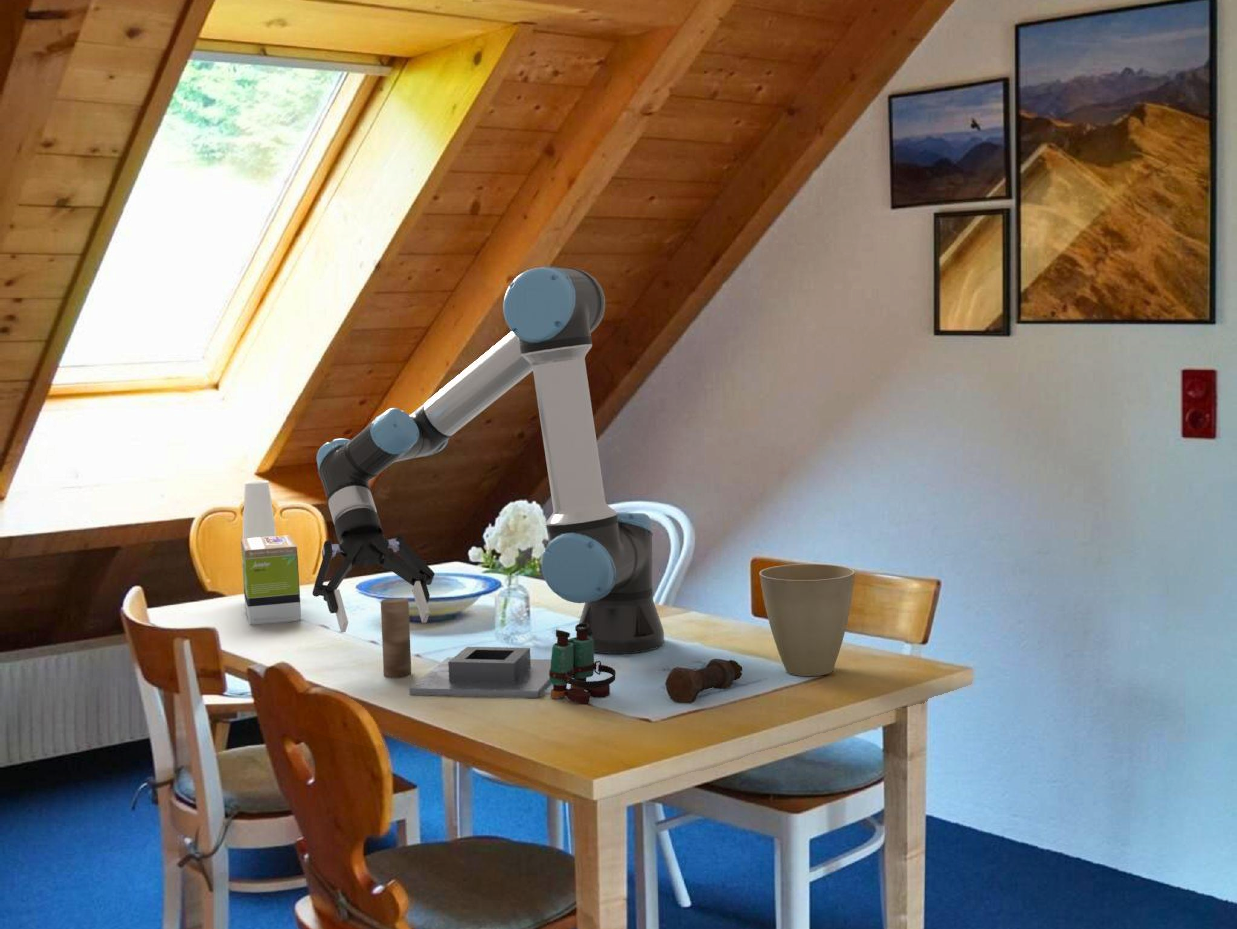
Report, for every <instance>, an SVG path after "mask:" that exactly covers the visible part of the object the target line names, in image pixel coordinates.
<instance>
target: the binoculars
mask: <svg viewBox="0 0 1237 929" xmlns="http://www.w3.org/2000/svg"><path fill="white" fill-rule="evenodd" d="M575 632H577V637H576V636H575V637H571V633H570V632H568V631H564V630H559V629H556V630H555V637H556V638H557V639H556V640H557V641H556V643H553V645H552V650H551V667H550V670H549V676H550V680H549V682H550V683H551V684H550V685H553V688H552V689H550V691H549V692H550V694H549V695H550V698H552V699H563V698H565V697H566V698H567V699H568V701H570V702H572V703H575V704H581V705H582V704H583V705H584V704H585V705H586V704H589V703H590V701H591V700H590V699H591V698H595V699H604V698H607V697H609V696H610V691H611V686H610V685H611V684H612V683H614V682H615V681H616V669H614V668H613V667H611V666H608V665H604V664H602V661H600V660H596V661H595V652H594V640H593V639H592V638H590V637H587V632H589V624H588V623H580V624H579V623H577V624H576V625H575ZM597 663H599V664H597ZM601 673H606V674H610V675H611V676H610V677H608V678H606V679H601V680H591V681H590V680H589V681H588V680H587V678H591V677H593V676H594V674H597V675H601ZM568 685H570V686H569V688H567V686H568Z"/></svg>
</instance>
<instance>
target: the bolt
mask: <svg viewBox="0 0 1237 929" xmlns="http://www.w3.org/2000/svg"><path fill="white" fill-rule="evenodd" d="M743 671H744V670H743V666H742V665H741V664H739V662H737V661H735V660H732V659H728V660H727V659H723V658H722V659H721V658H712V659H710V660H709V661H708V663H707V664H706V665H705V667H703V668H699V669H697V670H695V669H694V668H687V667H680V666H675V667H672V670H670V671H669V674H668V675H667V677H666V679H665V690H666V692H667V695H668V697H669V698H670V700H671V701H673V702H675V703H680V704H689V705H690V704H693V703H695V702H696V700H697V699H698V697H699V694H700V693H701V692H704V691H707V690H711V689H716V690H727V689H729V688H730V687H731V686H732V684H733V682H734V681H737V680H740V679H741V678H742V676H743Z"/></svg>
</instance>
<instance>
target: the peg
mask: <svg viewBox="0 0 1237 929" xmlns="http://www.w3.org/2000/svg"><path fill="white" fill-rule="evenodd" d="M409 603H410V602H409V599H408V598H404V597H401V598H399V597H393V598H386V599H383V600H381V601H380V616H381V618H380V619H381V620H380V621H381V640H382V644H381V645H382V665H383V667H382V668H383V677H385V678H389V679H390V678H391V679H399V678H400V679H401V678H406V677H409V676H411V675H412V657H411V656H412V655H411V635H410V633H411V630H410V608H409V607H410V605H409Z"/></svg>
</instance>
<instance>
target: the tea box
mask: <svg viewBox="0 0 1237 929" xmlns="http://www.w3.org/2000/svg"><path fill="white" fill-rule="evenodd" d="M240 549H241V550H240V551H241V565H242V566H241V567H242V578H243V579H242V580H243V596H244V608H245V614H246V617H247V620H248V624H249V625H250V626H254V625H255V626H256V625H267V624H278V623H289V622H298V621H302V607H301V604H302V603H301V590H300V576H299V575H300V573H299V557H298V554H299V553H298V546H297V544H296V543H295V542H294V540H293V538H292V537H291V535H290V534H287V535H286V534H285V535H284V534H283V535H276V536H267V537H256V538H246V539H244V538H240Z"/></svg>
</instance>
